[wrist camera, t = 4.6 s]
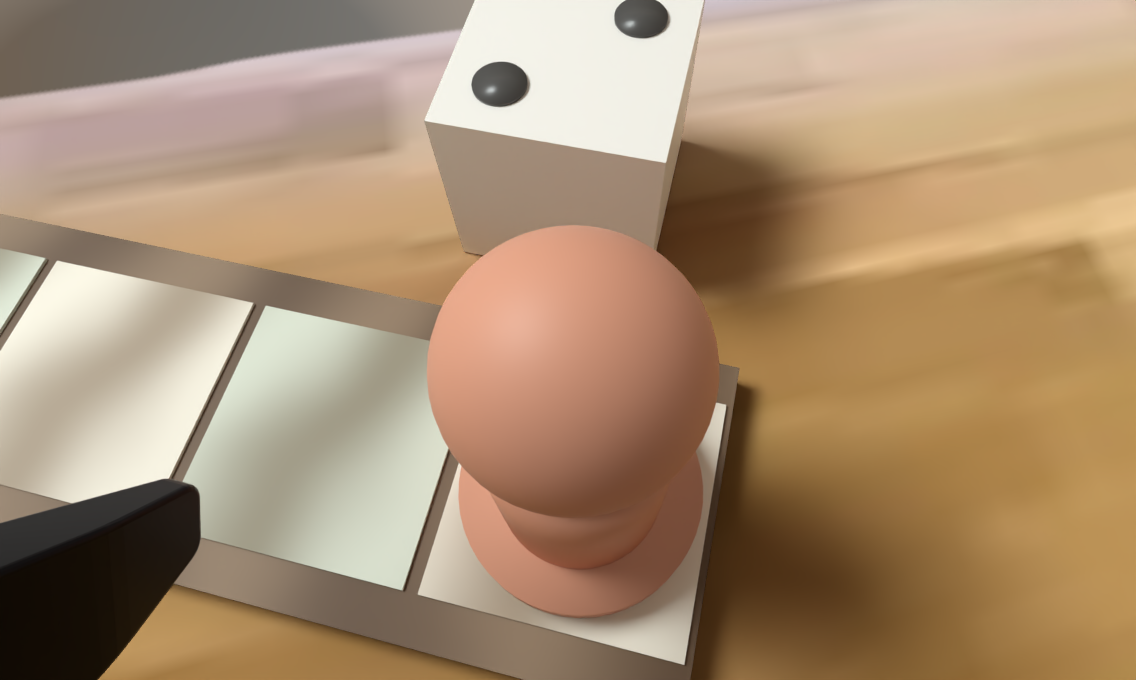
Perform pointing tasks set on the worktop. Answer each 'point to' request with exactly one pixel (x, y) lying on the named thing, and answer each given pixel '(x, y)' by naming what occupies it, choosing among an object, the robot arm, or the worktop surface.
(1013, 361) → the worktop surface
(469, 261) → the worktop surface
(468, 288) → the pawn
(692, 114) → the worktop surface
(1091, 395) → the worktop surface
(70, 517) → the robot arm
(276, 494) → the board
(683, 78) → the die
